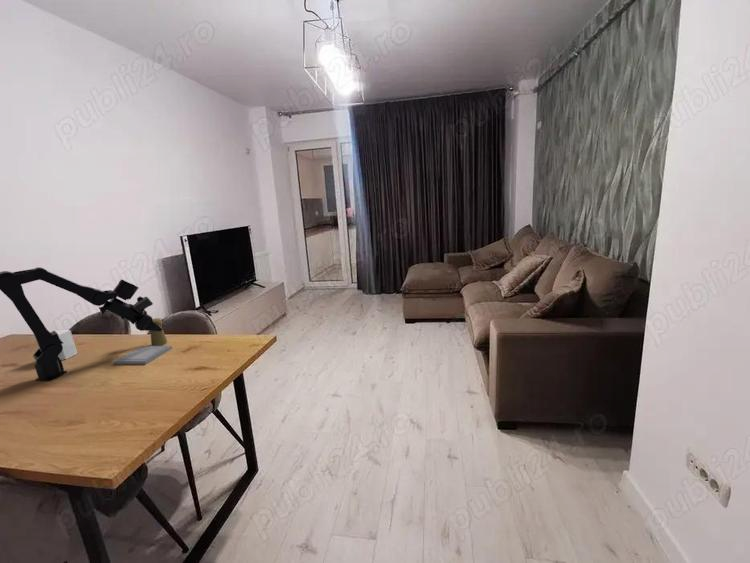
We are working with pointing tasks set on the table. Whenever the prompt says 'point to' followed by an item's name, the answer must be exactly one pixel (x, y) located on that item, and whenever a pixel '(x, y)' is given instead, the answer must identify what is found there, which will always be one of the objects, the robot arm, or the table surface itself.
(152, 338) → the cork
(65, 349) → the small box
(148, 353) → the plate
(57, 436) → the table surface
